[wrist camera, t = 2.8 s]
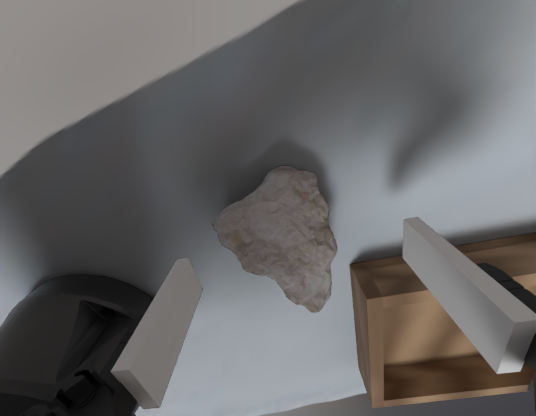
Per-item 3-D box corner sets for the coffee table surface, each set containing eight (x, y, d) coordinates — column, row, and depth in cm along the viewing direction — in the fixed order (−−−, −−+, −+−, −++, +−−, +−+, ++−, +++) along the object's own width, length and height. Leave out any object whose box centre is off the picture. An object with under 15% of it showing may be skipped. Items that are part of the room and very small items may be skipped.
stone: (357, 238, 20) (390, 289, 14) (280, 280, 22) (284, 338, 17) (295, 143, 16) (308, 165, 11) (210, 204, 18) (187, 246, 13)
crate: (358, 367, 28) (372, 408, 24) (349, 264, 21) (366, 299, 17) (520, 346, 26) (561, 387, 22) (568, 226, 19) (639, 257, 15)
